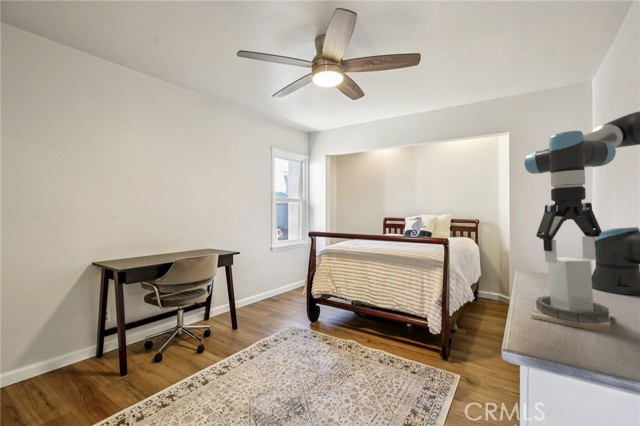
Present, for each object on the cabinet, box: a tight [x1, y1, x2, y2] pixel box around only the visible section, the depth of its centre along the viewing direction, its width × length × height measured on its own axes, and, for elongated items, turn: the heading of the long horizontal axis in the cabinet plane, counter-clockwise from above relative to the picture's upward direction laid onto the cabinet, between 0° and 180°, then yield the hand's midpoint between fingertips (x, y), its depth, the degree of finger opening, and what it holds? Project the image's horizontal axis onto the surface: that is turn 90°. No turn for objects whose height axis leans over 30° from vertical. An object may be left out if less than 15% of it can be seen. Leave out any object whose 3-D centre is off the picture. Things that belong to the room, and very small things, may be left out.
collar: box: [530, 295, 612, 334], centre depth 83 cm, size 16×16×4 cm
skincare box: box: [547, 256, 594, 312], centre depth 83 cm, size 8×7×16 cm
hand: (570, 260), depth 83 cm, fingers open, 13 cm apart
